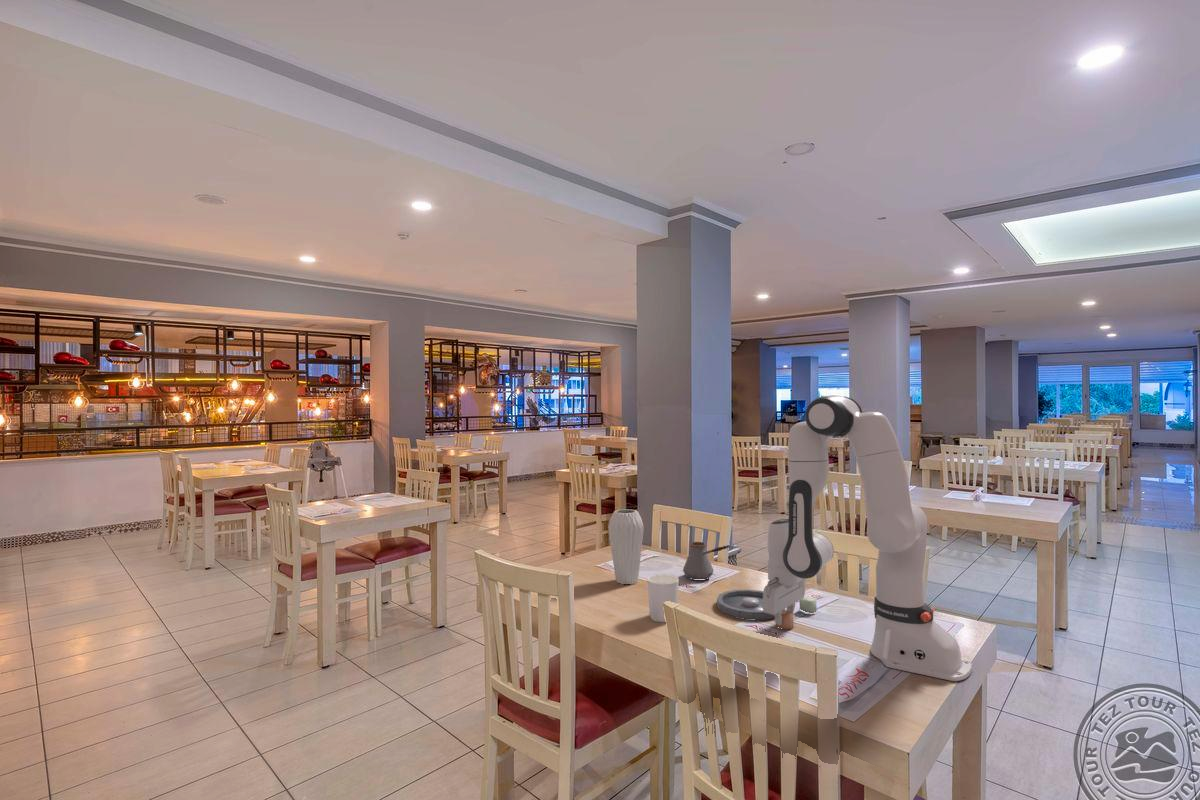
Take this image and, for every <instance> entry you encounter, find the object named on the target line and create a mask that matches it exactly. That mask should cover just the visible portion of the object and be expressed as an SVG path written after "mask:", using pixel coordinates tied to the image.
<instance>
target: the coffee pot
mask: <svg viewBox="0 0 1200 800" xmlns="http://www.w3.org/2000/svg"><path fill="white" fill-rule="evenodd" d="M706 546H707V543H706V542H702V541H692V542H689V547H690V551H689V554H688V556H687V559H686V560H685V564H684V566H683V568H682V571H683V573H684V575H685V576H686V577H687V578H688V577H689V578H692V579H707V578H708V579H709V578H710V577H712V576H713V574H714V567H713V566H712V563H711V561H710V559H709V556H708V554H710V553H714V552H720V551H722V550H727V551H728V552H730V551H733V548H732V546H731V545H729V544H727V545H723V546H719V547H716V548H714V549H711V550H706ZM729 548H730V550H729ZM689 578H688V579H689ZM708 579H707V580H708Z"/></svg>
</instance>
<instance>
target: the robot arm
mask: <svg viewBox="0 0 1200 800" xmlns="http://www.w3.org/2000/svg"><path fill="white" fill-rule="evenodd" d="M804 419H805V421H800V422H797V423H795V424H794V425H792V426H791V427H790V429H789V433H788V439H787V470H788V485H789V487H788V490H789V492H788V518H781V519H776V520H775V521H772V522H771V523H770V524H769V525H768V529H767V531H768V532H767V552H768V559H767V579H768V581H767V584H766V585H765V586H764V588H763V590H762V591H763V604H762V608H763V611H764V612H765V613H768V614H771V615H774V617H775V619H774V620H775V621H774V622H775V625H776V624H777V625H782V624H783V618H782V616H781V614H782V610H784V609H785V610H787V611H791V612H792V613H793V614H794V611H795V608H796V603H797V602H800V600H801V599H802V598H803V597H805V595H806V594H805V593H806V579H811V578H813V577H815V576H817V574H818V573H819V572H820V571H821V569H822V568H824V567H825V566H826V565H827V564H828V563H829V562H831V561H832V560H833V557H834V554H835V551H834V546H833V543H832V542H831V540H830V539H829V538H828V537H827V536H826V535H824V534H822V533H818V532H815V531H814V509H815V504H816V501H817V499H818V498H819V495H820V494H821V492H822V491H823V490H824V489H825V487H826V486H827V484H828V481H829V473H830V464H829V463H830V461H829V448H828V447H829V443H830V441H831V440H832V438H834V439H835V438H837V437H842V438H843V437H846V438H847V439H848V440H849V442H850V443H851V446H852V448H853V454H854V456H855V460H856V465H857V468H858V472H859V475H860V479H861V483H862V488H863V493H864V496H863V497H864V507H865V516H866V522H867V523H866V525H867V526H866V536H867V538H868V541H869V542H870V543H871V545H872V546H873V547H874V548H876V549H877V550H878V556H877V561H876V564H875V596H874V602H873V612H874V619H875V623H874V634H873V639H872V643H871V646H870V649H869V650H870V653H871V654H872V655H873V656H874V657H876V658H877V659H878V660H879V661H881V662H882V663H883V665H884V666H885V667H886V668H890V669H895V670H900V671H904V672H909V673H912V674H913V673H914V674H919V675H923V676H928V677H933V678H936V679H941V680H947V681H951V682H959V681H963V680H966V679H967V678H968V677H969V676H970V675H971V674H972V672H973V671H972V670H973V666H972V665H973V664H972V662H971V661H970V660H969V658H967V657H965V656H962V653H961V648H960V646H959V645H960V644H959V643H958V641H957V638H956V637H955V636H953V635H952V634H951V633H950V632H948V631H947V630H946V629H945V628H943V627H942V626H941V625H940V624H939V623H938V622H936V621H935V620H934V612H935V606H931V607H930V606H929V605H928V604H926V603H925V585H924V583H925V582H924V579H925V578H924V572H925V571H924V570H925V562H926V553H927V552H926V551H927V541H928V540H927V539H928V538H927V537H928V536H927V535H928V517H927V515H926V513H925V511H924V510H923V509H922V508H921V507H920V506H918V505H917V504H914V503H912V502H911V493H910V484H909V483H910V482H909V481H910V478H909V475H908V471H907V467H906V464H905V461H904V458H903V454H902V449H901V447H900V443H899V441H898V440H899V439H898V438H897V435H896V432H895V431H894V428H893V426H892V424H891V422H890V421H889V419H888V417H887V416H886V415H885V414H883V413H881V412H878V411H866V412H863V409H862V407H861V405H860V404H859V403H858V402H857V401H856V400H855V399H852V398H850V397H848V396H841V395H836V394H835V395H833V394H832V395H824V396H823V395H822V396H819V397H816V398H814V400H812V401H811V402H810V403H809V404H808V406H807V407H806V409H805V414H804Z"/></svg>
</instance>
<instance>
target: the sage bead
mask: <svg viewBox="0 0 1200 800" xmlns="http://www.w3.org/2000/svg"><path fill="white" fill-rule="evenodd" d="M800 609H801V610H803V611H805V612H809V613H814V612H816V611H817V610H818V609H817V598H815V597H811V596H804V597H803V598H802V599H801V600H799V610H800Z"/></svg>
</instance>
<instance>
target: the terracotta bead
mask: <svg viewBox="0 0 1200 800" xmlns="http://www.w3.org/2000/svg"><path fill="white" fill-rule="evenodd" d="M781 616H782V618H783V624H782V625H777V624H776V623H775V627H776V626H777V627H779V628H782V629H787V630H786V631H789V630H788V629H791V630H793V629H794V626H795V625H794V623H795V622H794V612H793V613H792V612H791V611H787V609H785V610H782V614H781ZM777 627H776V628H777ZM779 628H778V629H779ZM782 629H781V630H782Z"/></svg>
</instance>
